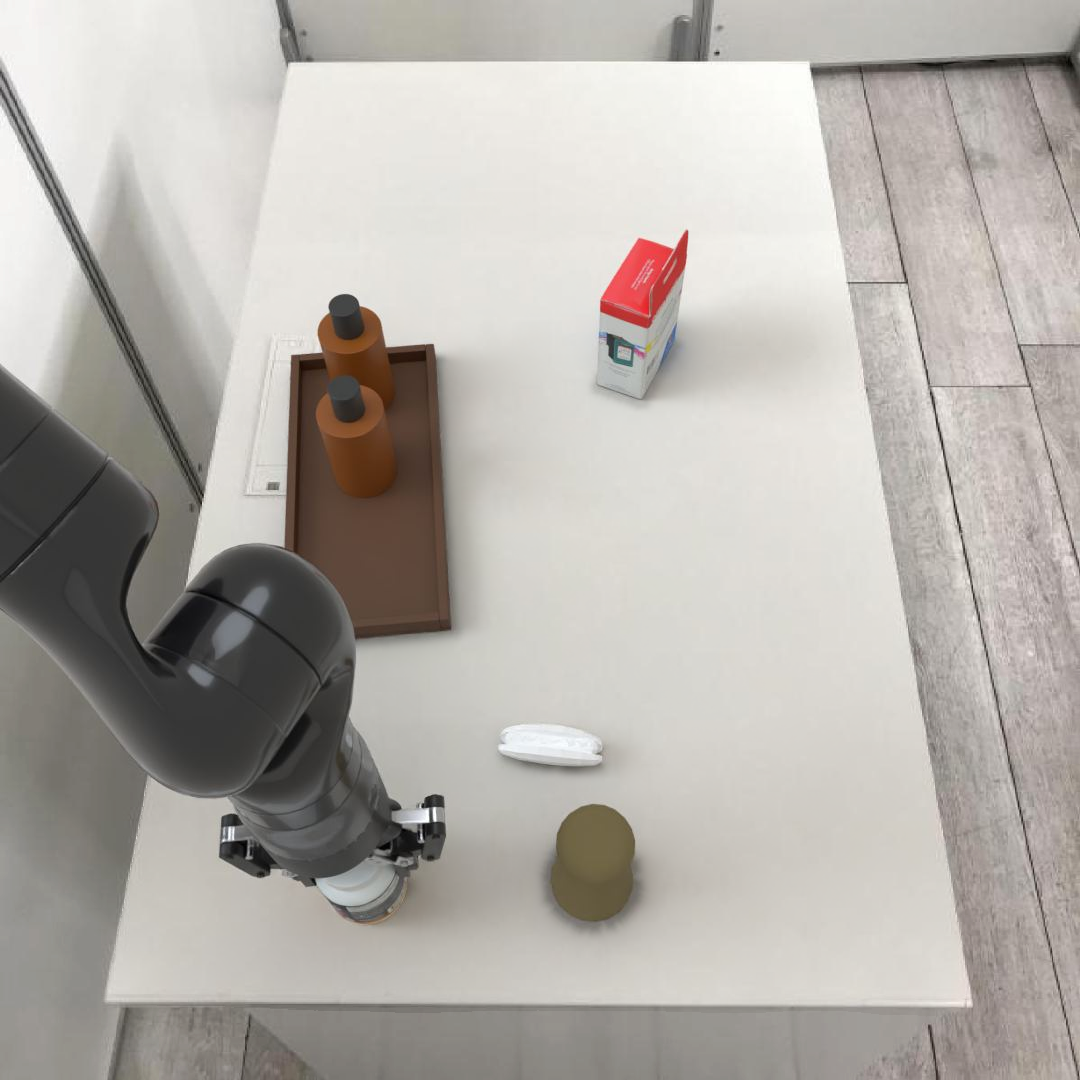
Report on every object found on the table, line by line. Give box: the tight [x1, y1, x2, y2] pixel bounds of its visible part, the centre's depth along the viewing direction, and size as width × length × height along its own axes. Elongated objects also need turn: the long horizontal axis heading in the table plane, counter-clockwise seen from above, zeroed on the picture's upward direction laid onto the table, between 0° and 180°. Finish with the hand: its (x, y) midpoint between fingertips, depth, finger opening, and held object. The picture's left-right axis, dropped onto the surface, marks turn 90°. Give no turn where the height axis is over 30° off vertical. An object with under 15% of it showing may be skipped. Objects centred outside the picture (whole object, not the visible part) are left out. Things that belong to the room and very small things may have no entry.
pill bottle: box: [315, 862, 408, 926], centre depth 73 cm, size 6×6×10 cm
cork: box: [549, 803, 636, 923], centre depth 73 cm, size 6×6×11 cm
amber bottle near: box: [316, 375, 397, 498], centre depth 91 cm, size 6×6×12 cm
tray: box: [283, 343, 452, 639], centre depth 95 cm, size 14×30×2 cm, turn 5°
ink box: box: [596, 228, 689, 400], centre depth 97 cm, size 8×5×15 cm, turn 154°
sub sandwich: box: [497, 722, 604, 768], centre depth 82 cm, size 3×8×3 cm, turn 83°
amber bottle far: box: [317, 293, 395, 410], centre depth 96 cm, size 6×6×12 cm
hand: (358, 866), depth 73 cm, fingers closed on pill bottle, 5 cm apart
